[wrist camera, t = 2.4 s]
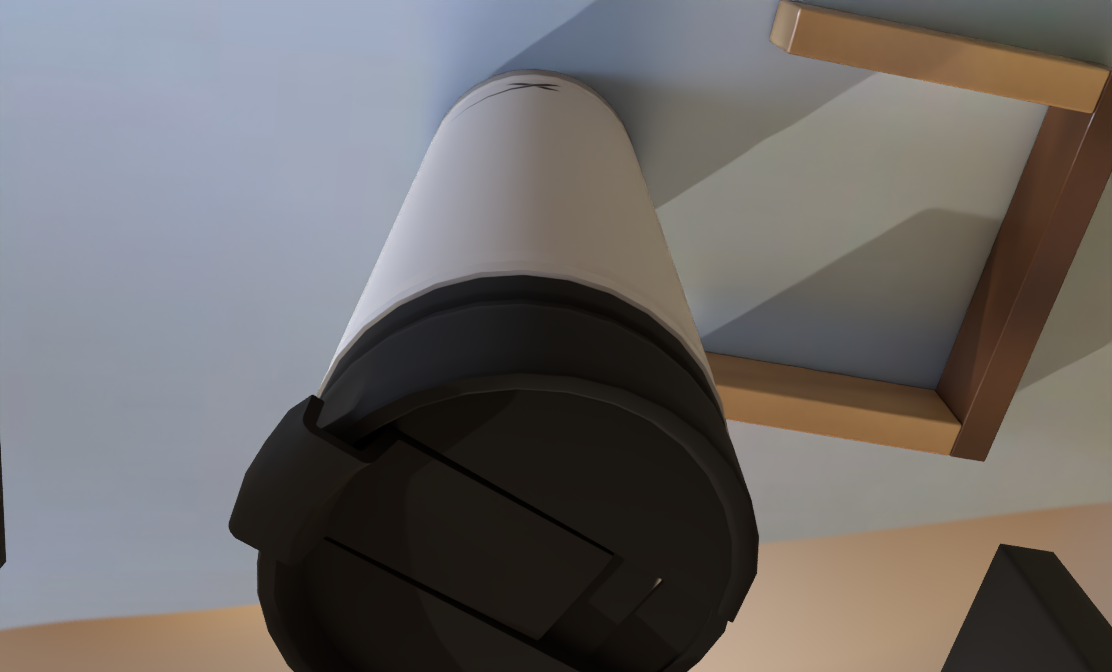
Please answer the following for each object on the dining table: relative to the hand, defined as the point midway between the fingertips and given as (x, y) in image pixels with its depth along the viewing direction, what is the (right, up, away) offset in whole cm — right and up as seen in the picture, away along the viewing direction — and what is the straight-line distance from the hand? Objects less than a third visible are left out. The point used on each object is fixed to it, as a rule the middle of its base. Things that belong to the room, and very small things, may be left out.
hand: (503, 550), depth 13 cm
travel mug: (0, +8, +17) cm, 19 cm away
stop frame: (+11, +6, +18) cm, 21 cm away
